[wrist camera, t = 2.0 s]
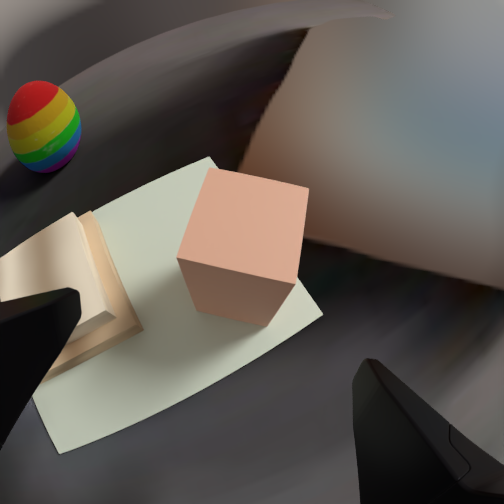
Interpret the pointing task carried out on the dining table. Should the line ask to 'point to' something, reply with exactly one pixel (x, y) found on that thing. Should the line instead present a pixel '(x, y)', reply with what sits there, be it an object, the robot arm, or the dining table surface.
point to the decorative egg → (43, 126)
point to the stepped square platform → (73, 285)
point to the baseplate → (157, 323)
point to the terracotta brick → (243, 245)
